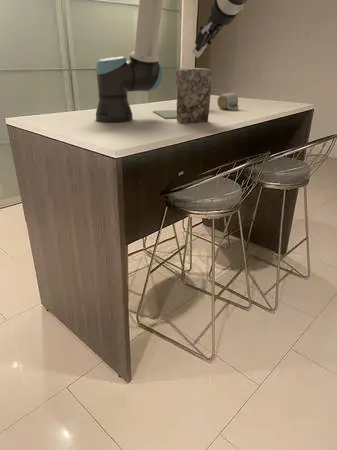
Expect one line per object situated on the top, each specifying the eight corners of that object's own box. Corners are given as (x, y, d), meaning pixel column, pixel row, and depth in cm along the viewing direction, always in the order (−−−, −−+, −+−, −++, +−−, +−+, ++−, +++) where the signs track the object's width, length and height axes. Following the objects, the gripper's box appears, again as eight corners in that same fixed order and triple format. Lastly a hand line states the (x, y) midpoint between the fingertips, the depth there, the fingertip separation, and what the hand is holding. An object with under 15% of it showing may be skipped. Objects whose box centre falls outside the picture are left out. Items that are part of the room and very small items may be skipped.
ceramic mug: (215, 108, 174) (216, 92, 171) (227, 107, 179) (228, 91, 175) (230, 111, 167) (231, 95, 163) (242, 110, 171) (243, 94, 167)
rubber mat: (165, 118, 145) (165, 117, 144) (152, 111, 162) (152, 110, 161) (204, 117, 150) (204, 116, 149) (188, 110, 167) (188, 109, 166)
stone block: (183, 124, 134) (185, 68, 125) (174, 121, 139) (175, 67, 130) (210, 121, 140) (214, 68, 131) (200, 119, 145) (203, 67, 136)
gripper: (221, 25, 95) (190, 71, 117) (250, 5, 99) (215, 53, 121) (204, 3, 94) (176, 53, 116) (234, -17, 98) (201, 36, 120)
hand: (196, 53), depth 119 cm, fingers closed
